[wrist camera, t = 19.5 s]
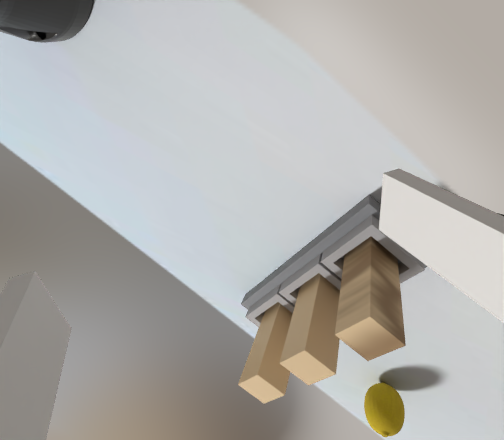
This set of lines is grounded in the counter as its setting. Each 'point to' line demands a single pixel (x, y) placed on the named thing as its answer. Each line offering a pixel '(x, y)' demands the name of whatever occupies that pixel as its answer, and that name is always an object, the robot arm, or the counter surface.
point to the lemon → (384, 409)
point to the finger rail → (309, 305)
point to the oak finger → (370, 301)
